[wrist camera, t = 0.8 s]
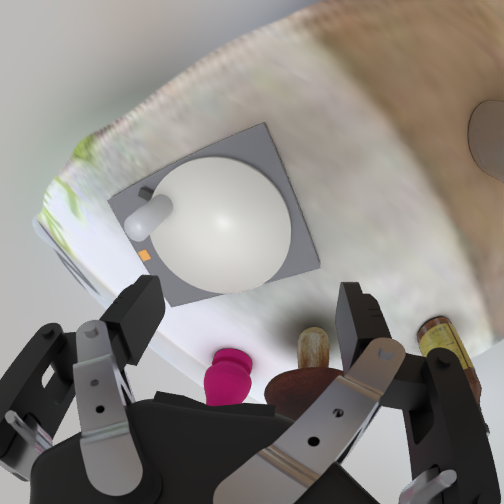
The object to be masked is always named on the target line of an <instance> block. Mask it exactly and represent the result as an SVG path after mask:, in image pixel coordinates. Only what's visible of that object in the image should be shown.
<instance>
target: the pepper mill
mask: <svg viewBox="0 0 504 504" xmlns="http://www.w3.org/2000/svg"><path fill="white" fill-rule="evenodd" d="M251 369H252V361H251V359H250V357H249V356H248V355H247V354H245V353H244V352H242V351H239V350H236V349H222V350H219V351H218V352H217V353H216V354H215V356H214V359H213V362H212V366H211V367H210V368H208V369H207V371H206V373H205V377H204V390H205V394H206V404H207V405H210V406H221V405H231V404H240V403H242V402H243V401H244V400H245V398H246V397H247V395H248V393H249V391H250V388H251V384H252V382H251V378H250V376H249V375H250V373H251Z"/></svg>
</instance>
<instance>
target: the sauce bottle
mask: <svg viewBox="0 0 504 504" xmlns="http://www.w3.org/2000/svg"><path fill="white" fill-rule="evenodd" d="M418 343H419V349H420V351H421V353H422V356H423V357H426V356H427V354H428V352H429V351H430V350H432V349H433V348H438V347H442V348H446V349H449V350H451V351H452V352H454V353H455V354H456V355H457V357H458V358H459V360H460V363H461V365H462V367H463V370H464V372H465V374H466V377H467V379H468V382H469V384H470V387H471V390H472V392H473V395H474V398H475V400H476V403H477V406H478V409H479V412H480V415H481V418H482V421H483V424H484V427H485V430H486V434H487V437H488V436H489V434H490V432H489V428H488V425H487V424H486V423H485V421H484V418H483V415H482V412H481V407H480V396H481V389H482V388H481V385H480V381H479V379H478V377H477V375H476V373H475V369H474V366H473V364H472V362H471V360H470V358H469V356H468V354H467V351H466V349H465V347H464V345H463V343H462V341H461V339H460V337H459V335H458V334H457V332H456V330H455V328H454V326H453V325H452V323H451V322H450V321H449V320H448V319H446V318H444V317H437V318H435V319H432V320H430V321H428V322H427V323H426V324H424V326H423V327H422V328H421V329H420V331H419V333H418Z"/></svg>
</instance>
